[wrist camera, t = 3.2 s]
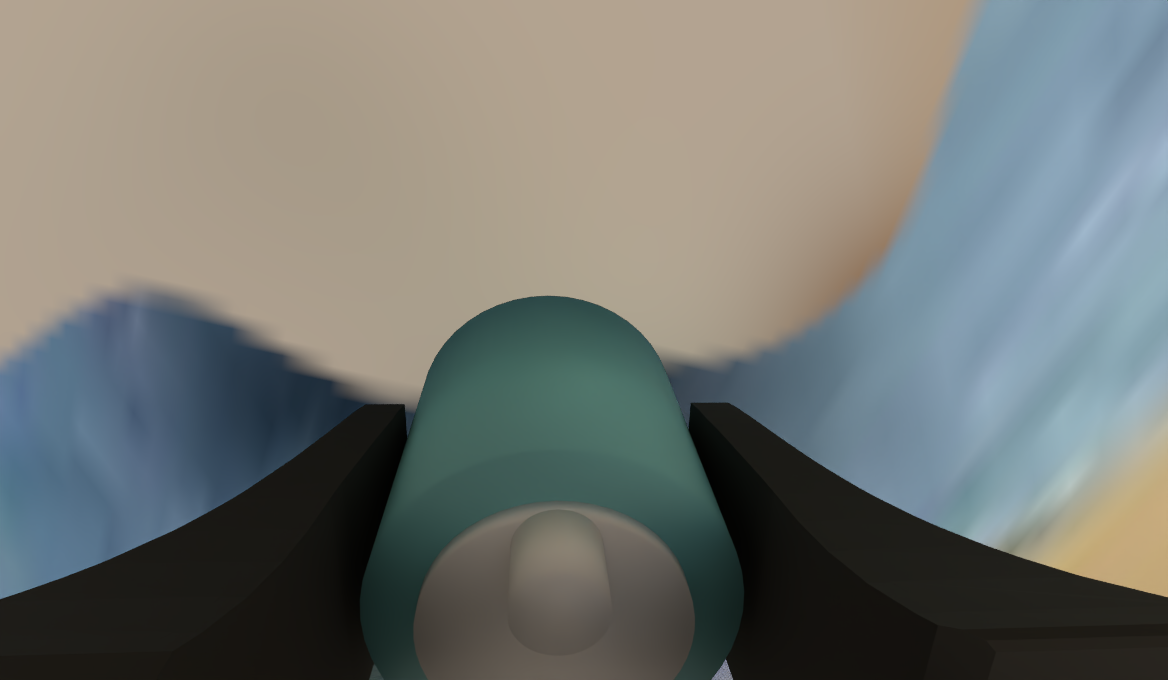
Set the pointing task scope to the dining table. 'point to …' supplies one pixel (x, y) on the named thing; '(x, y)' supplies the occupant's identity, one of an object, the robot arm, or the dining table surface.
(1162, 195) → the dining table surface
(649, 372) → the spout can
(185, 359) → the dining table surface
